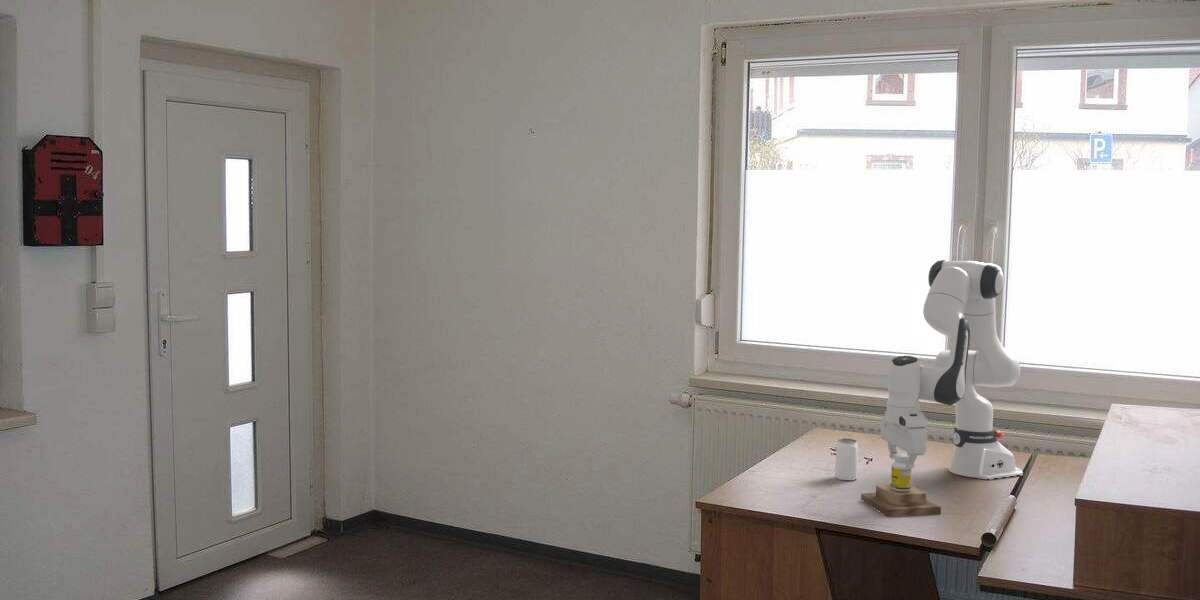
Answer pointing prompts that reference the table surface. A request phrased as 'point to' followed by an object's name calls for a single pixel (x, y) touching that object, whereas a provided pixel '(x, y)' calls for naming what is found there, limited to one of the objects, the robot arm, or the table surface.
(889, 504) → the plinth
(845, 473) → the can
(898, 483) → the supplement bottle
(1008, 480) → the table surface
